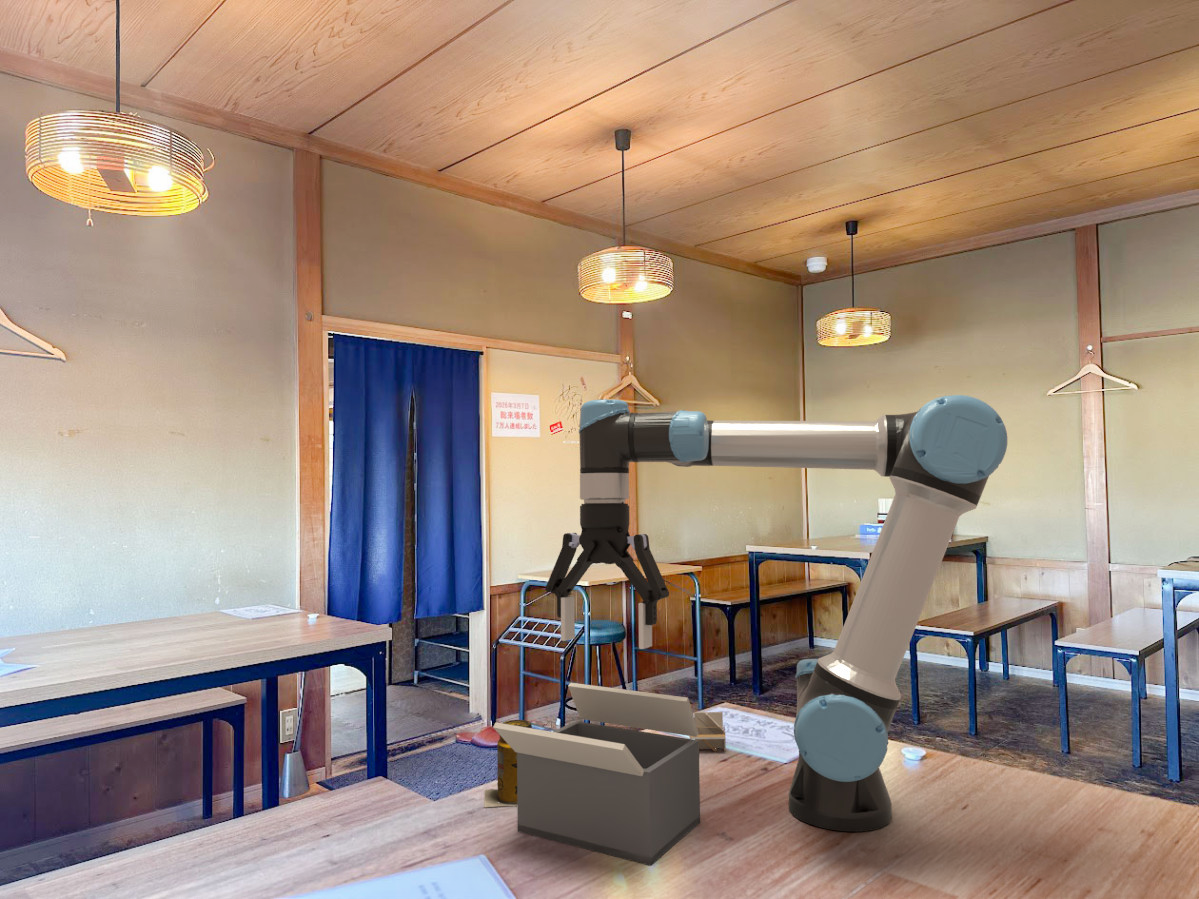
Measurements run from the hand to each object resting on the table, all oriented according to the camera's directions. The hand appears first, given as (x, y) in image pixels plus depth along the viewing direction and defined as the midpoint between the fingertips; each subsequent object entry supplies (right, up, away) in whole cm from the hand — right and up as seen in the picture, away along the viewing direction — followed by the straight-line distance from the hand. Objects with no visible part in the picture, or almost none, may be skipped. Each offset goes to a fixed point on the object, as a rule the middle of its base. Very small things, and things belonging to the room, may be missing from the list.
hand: (605, 643), depth 118 cm
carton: (+1, -27, -2) cm, 27 cm away
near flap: (-5, -11, -10) cm, 16 cm away
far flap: (+4, -12, +5) cm, 13 cm away
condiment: (-15, -28, +10) cm, 34 cm away
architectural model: (+20, -30, +33) cm, 49 cm away
